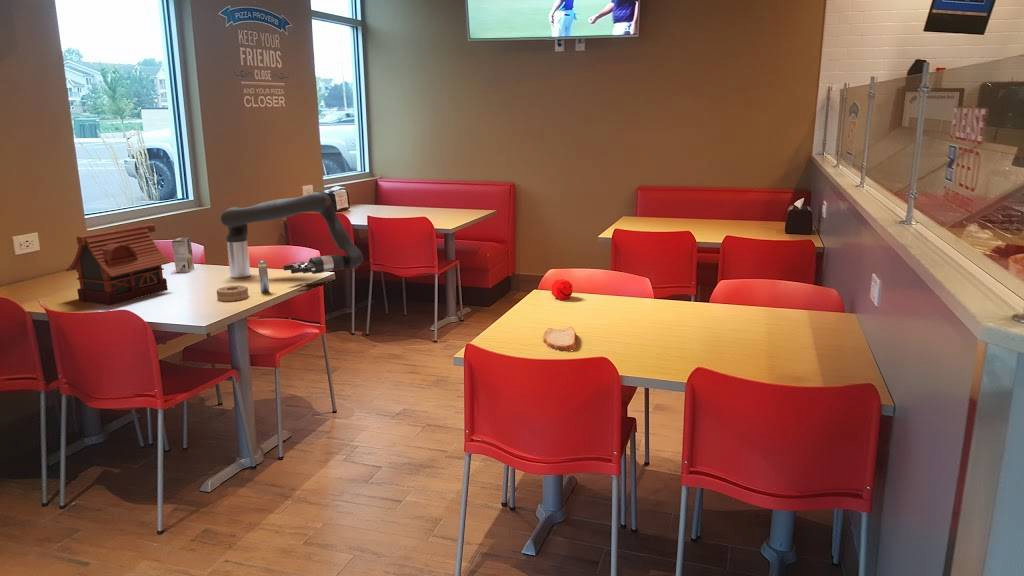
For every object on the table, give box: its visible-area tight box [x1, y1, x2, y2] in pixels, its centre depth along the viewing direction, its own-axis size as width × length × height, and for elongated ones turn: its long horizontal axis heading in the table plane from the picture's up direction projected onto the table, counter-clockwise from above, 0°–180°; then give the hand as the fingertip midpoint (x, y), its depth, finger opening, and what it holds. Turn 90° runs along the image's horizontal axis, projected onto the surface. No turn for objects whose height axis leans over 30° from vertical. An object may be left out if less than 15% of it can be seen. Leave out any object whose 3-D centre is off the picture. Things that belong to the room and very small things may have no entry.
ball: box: [551, 278, 573, 301], centre depth 304 cm, size 8×8×8 cm
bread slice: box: [542, 326, 578, 352], centre depth 249 cm, size 18×18×4 cm
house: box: [65, 223, 172, 306], centre depth 315 cm, size 35×28×29 cm
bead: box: [216, 284, 249, 302], centre depth 311 cm, size 12×12×4 cm
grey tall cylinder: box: [257, 260, 270, 294], centre depth 318 cm, size 4×4×14 cm
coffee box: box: [171, 237, 195, 273], centre depth 363 cm, size 9×6×16 cm
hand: (287, 269), depth 325 cm, fingers open, 8 cm apart
